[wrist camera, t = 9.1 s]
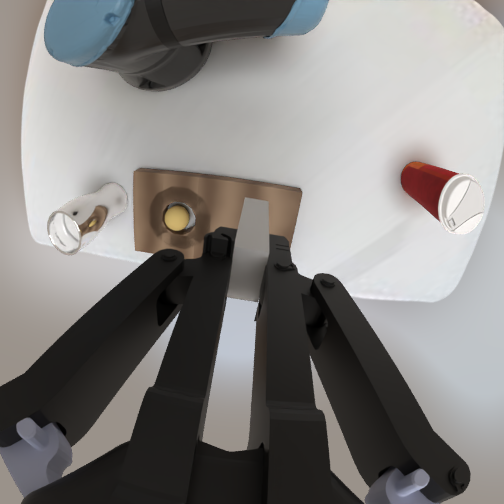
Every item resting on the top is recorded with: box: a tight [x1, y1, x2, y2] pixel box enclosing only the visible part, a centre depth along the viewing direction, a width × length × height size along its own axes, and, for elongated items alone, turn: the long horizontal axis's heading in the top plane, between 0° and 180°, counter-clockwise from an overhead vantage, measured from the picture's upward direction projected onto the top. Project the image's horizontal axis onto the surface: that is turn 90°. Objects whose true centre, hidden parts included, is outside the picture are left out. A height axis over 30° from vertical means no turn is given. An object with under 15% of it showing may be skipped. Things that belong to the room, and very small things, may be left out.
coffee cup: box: [401, 162, 485, 234], centre depth 32 cm, size 8×8×15 cm
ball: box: [165, 206, 189, 231], centre depth 42 cm, size 4×4×4 cm
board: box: [133, 168, 302, 259], centre depth 43 cm, size 26×14×2 cm, turn 82°
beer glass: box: [47, 183, 127, 255], centre depth 36 cm, size 7×7×15 cm
